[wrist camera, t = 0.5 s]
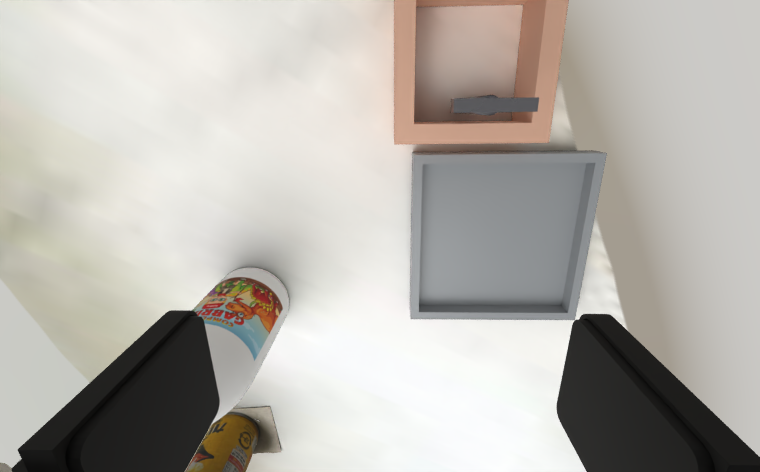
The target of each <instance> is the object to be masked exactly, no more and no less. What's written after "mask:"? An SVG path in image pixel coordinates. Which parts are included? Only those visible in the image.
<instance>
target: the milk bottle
mask: <svg viewBox="0 0 760 472" xmlns="http://www.w3.org/2000/svg"><path fill="white" fill-rule="evenodd" d="M288 310H289V297H288V293H287V291H286V288H285V287H284V285H283V283H282V282H281V281H280V280H279V279H278V278H277V277H276V276H274V275H273V274H272V273H270V272H268V271H266V270H262V269H260V268H241V269H237V270H235V271H233V272H231V273H229V274H228V275H227V276H226V277H225V278H223V279H222V280H221V281H220V282H219V283H218V284H217V285H216V286H215V287H214V288H213V289H212V290H211V291H210V292H209V293H208V295H207V296H206V297H205V298H204V299H203V300H202V301H201V302H200V303H199V304H198V305H197V306H196V307H195V308H194V309H193V310H192V311H195V312H196V313H197V315H198V316H200V317H202V318H203V320H204V323H205V328H206V333H207V338H208V343H209V348H210V353H211V358H212V363H213V368H214V373H215V378H216V383H217V388H218V393H219V398H220V405H219V410H218V413H217V415H216V417H215V419H214V420H213V422H212V424H213V423H214V422H216V421H217V420H219V419H220V418H222V417H223V416H224V415H226V414H227V413H228V412H229V411H230V410H231V409H232V408H233V407H234V406H235V405H236V404H237V403H238V402H239V401H240V400H241V398H242V397H243V396H244V394H245V393H246V391H247V390H248V389H249V387H250V385H251V383H252V382H253V380H254V378H255V376H256V375H257V373H258V371H259V369H260V367H261V365H262V363H263V361H264V359H265V357H266V355H267V353H268V352H269V350H270V348H271V346H272V344H273V342H274V340H275V338H276V336H277V334H278V332H279V330H280V328H281V326H282V324H283V322H284V320H285V318H286V315H287V313H288Z"/></svg>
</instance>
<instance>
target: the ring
mask: <svg viewBox="0 0 760 472" xmlns="http://www.w3.org/2000/svg"><path fill="white" fill-rule="evenodd" d="M568 1H569V0H394V144H482V143H549V138H550V131H551V124H552V116H553V109H554V102H555V95H556V88H557V80H558V73H559V66H560V59H561V51H562V44H563V36H564V30H565V22H566V15H567V8H568ZM483 5H523V14H522V23H521V33H520V43H519V52H518V62H517V72H516V81H515V91H514V98H530V97H539V104H538V112H512V120H511V121H442V122H414V93H415V37H416V7H438V6H483Z"/></svg>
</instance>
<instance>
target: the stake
mask: <svg viewBox="0 0 760 472" xmlns="http://www.w3.org/2000/svg"><path fill="white" fill-rule="evenodd" d="M538 104H539V97H530V98H498V97H497V96H495V95H487V96H479V97H471V98H459V99H451V111H450V113H467V114H479V115H494V114H495V113H497V112H538Z"/></svg>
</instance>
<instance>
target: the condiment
mask: <svg viewBox="0 0 760 472" xmlns="http://www.w3.org/2000/svg"><path fill="white" fill-rule="evenodd" d="M254 418H255V419H256V420H254ZM257 420H259V421H260V422H259V421H257ZM268 452H269V453H278V452H281V449H280V444H279V440H278V435H277V431H276V427H275V423H274V420H273V416H272V413H271V409H270V407H257V408H246V409H244V408H242V409H240V408H239V409H238V408H233V409H231V410H230V411H229V412H228V413H227V414H226V415H224V416H223V417H222V418H220V419H219V420H217V421H216V422H214V423H213V424H211V426H210V427H209V431H208V432H207V434H206V436H205V438H204V439H203V441H202V443H201V445H200V446H199V448H198V450H197V452H196V454H195V456H194V457H193V459H192V461H191V462H190V464H189V466H188V468H187V470H186V471H185V472H246V469H247V467H248V464H249V462H250V459H251V457H252V454H256V453H268Z"/></svg>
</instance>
